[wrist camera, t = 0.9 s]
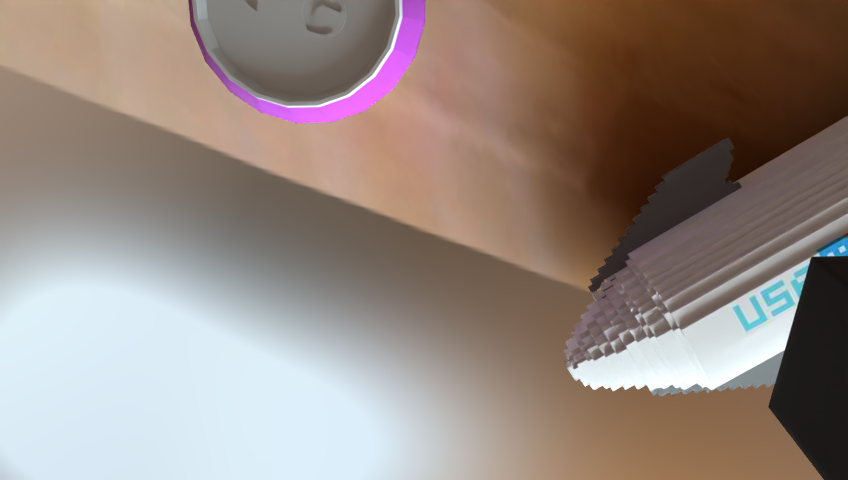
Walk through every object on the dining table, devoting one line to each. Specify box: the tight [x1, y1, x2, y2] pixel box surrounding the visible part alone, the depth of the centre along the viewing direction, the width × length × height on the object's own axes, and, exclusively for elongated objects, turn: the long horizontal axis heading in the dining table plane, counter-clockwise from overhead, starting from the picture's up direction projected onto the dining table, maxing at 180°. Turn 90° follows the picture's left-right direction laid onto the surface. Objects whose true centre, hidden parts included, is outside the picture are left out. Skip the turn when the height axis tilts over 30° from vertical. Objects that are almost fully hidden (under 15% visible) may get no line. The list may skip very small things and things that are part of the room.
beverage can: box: [189, 0, 425, 123], centre depth 28 cm, size 8×8×12 cm
